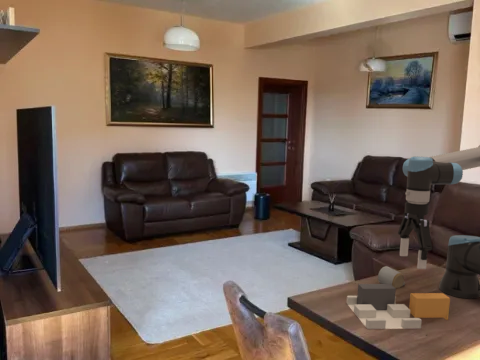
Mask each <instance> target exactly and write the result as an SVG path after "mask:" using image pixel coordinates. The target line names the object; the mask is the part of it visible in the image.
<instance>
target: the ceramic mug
mask: <svg viewBox="0 0 480 360" xmlns="http://www.w3.org/2000/svg"><path fill="white" fill-rule="evenodd" d="M377 280H378V281H377V282H378V283H379V284H391V285H392V286H393V287H394V288H396V289H400V288H402V286H403V287H404V286H405V284H406V282H405V277H404V275H403V273H401V272H400V271H398V270H397V269H394V268H393V267H389V266H387V265H386V266H383V267H382V268H380V270H379V271H378V275H377Z"/></svg>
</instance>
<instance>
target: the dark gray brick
mask: <svg viewBox="0 0 480 360" xmlns="http://www.w3.org/2000/svg"><path fill="white" fill-rule="evenodd" d="M396 291H397V288H394V287H393V286H392V285H391V284H381V283H358V284H357V295H356V296H357V304H371V305H372V306H373V307H374V308H375V309H376V310H387V304H395V297H396Z"/></svg>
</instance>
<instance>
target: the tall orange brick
mask: <svg viewBox="0 0 480 360" xmlns="http://www.w3.org/2000/svg"><path fill="white" fill-rule="evenodd" d="M450 304H451V297H449V296H448V295H446V293H444V292H436V293H435V292H431V293H429V292H425V293H424V292H423V293H422V292H421V293H420V292H419V293H418V292H415V293H412V292H411V293H410V296H409V307H408V308H409V309H410V315H411V316H412V317H413V318H420V319H421V318H422V319H423V318H427V319H428V318H429V319H430V318H433V319H435V318H436V319H437V318H442V319H444V320H446V321H449V313H450Z"/></svg>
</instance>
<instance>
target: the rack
mask: <svg viewBox="0 0 480 360" xmlns="http://www.w3.org/2000/svg"><path fill="white" fill-rule="evenodd" d="M346 305H347V306H348V307H349V308H350V309H351V311H352V312H353V313H354V315H355V316H356V317H357V318H358V319H359V321H360V322H361V323H362V325H363V326H364V327H365V328H366V329H367V330H390V329H391V330H402V329H403V330H406V329H413V330H414V329H416V330H417V329H422V322H423V321H422V319H421V318H415V317H411V314H410V309H409V307H408V306H407V305H406V304H405V303H397V296H395V304H387V310H376V309H375V308H374V307H373V306H372V305H371V304H357V295H347V296H346Z"/></svg>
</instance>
